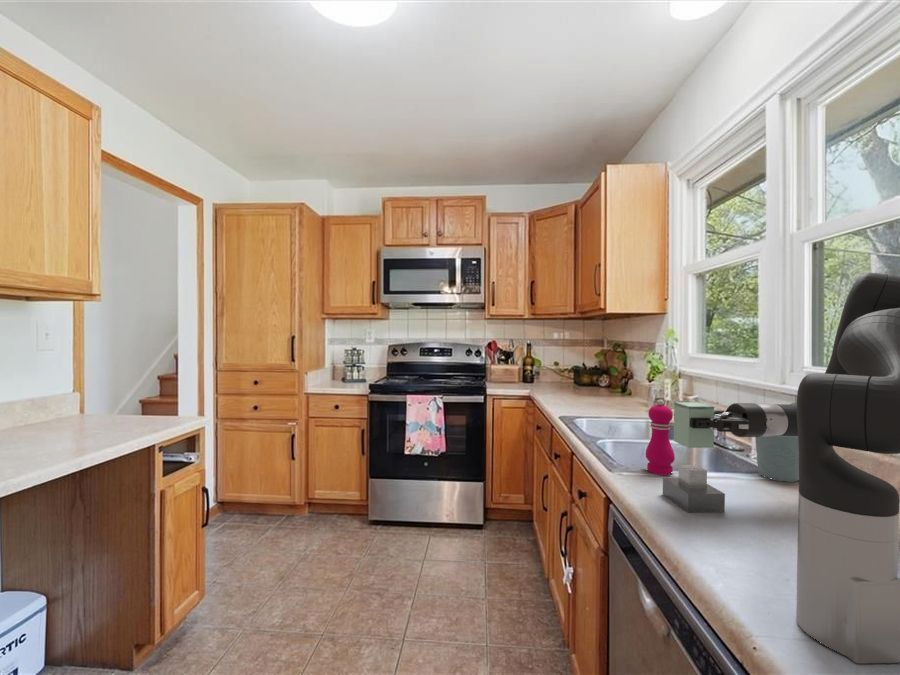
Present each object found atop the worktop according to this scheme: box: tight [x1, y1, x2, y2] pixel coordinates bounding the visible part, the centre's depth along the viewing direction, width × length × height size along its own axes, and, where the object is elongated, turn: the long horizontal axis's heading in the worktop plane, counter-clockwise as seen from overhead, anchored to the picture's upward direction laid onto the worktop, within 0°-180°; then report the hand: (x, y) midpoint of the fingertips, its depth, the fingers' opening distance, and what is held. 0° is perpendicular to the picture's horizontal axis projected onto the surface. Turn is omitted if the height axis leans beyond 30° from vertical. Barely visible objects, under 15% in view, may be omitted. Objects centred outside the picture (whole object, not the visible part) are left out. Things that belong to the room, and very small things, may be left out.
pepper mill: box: [645, 399, 676, 476], centre depth 115 cm, size 7×7×20 cm
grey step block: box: [662, 464, 726, 514], centre depth 94 cm, size 10×8×8 cm
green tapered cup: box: [754, 436, 799, 483], centre depth 112 cm, size 10×10×12 cm
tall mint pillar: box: [673, 401, 715, 449], centre depth 94 cm, size 6×6×9 cm
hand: (682, 420), depth 93 cm, fingers closed on tall mint pillar, 5 cm apart
